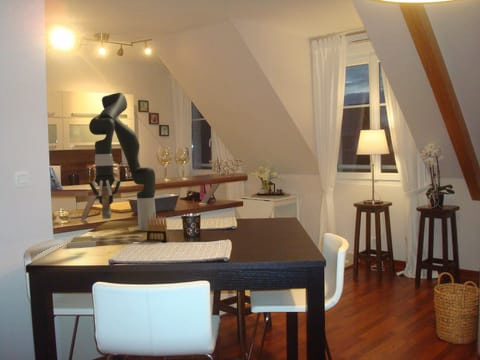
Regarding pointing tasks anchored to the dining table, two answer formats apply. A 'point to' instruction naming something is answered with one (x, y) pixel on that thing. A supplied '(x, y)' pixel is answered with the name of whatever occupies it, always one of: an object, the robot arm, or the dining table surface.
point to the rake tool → (105, 203)
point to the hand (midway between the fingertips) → (106, 204)
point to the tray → (82, 243)
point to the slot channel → (118, 240)
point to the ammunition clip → (157, 229)
